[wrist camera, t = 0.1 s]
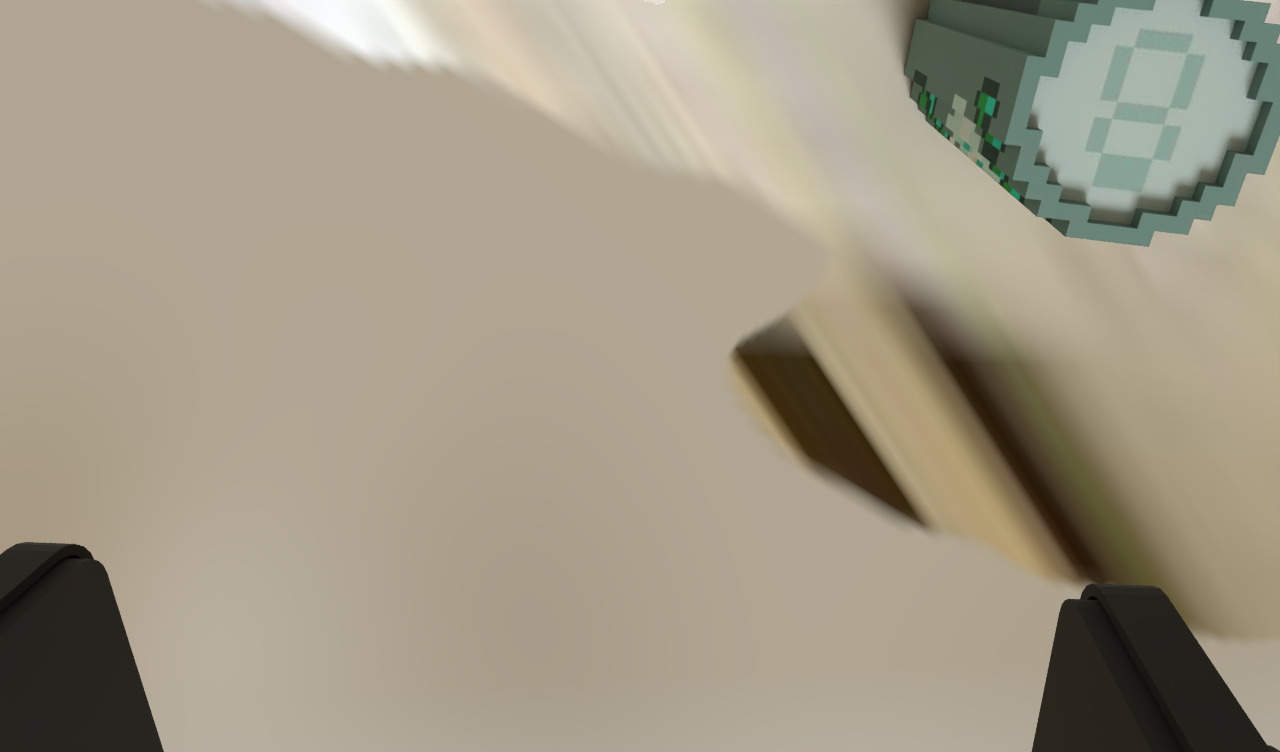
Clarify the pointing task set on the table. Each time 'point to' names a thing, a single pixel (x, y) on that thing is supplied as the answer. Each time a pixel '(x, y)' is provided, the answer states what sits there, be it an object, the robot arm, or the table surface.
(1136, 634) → the robot arm
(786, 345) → the table surface
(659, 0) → the hinge
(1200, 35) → the can
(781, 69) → the table surface
